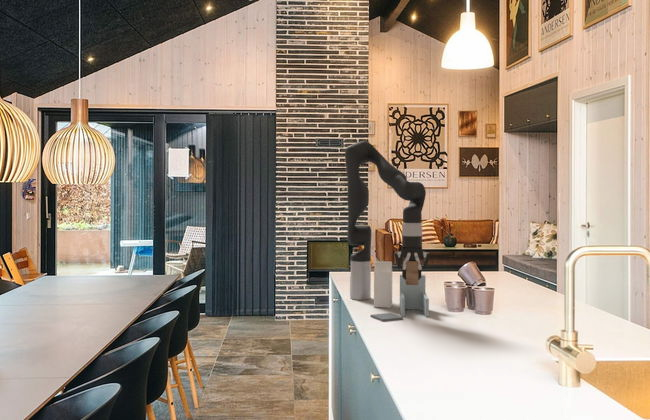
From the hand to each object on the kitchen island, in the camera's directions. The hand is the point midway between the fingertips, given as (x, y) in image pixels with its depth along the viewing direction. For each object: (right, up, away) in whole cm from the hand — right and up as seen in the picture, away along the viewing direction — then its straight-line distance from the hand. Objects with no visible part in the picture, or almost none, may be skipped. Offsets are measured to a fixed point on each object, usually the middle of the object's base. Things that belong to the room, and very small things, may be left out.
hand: (411, 279), depth 216 cm
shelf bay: (+2, -15, +11) cm, 18 cm away
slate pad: (-9, -15, +1) cm, 18 cm away
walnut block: (0, -2, 0) cm, 2 cm away
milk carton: (-8, -15, +24) cm, 30 cm away
